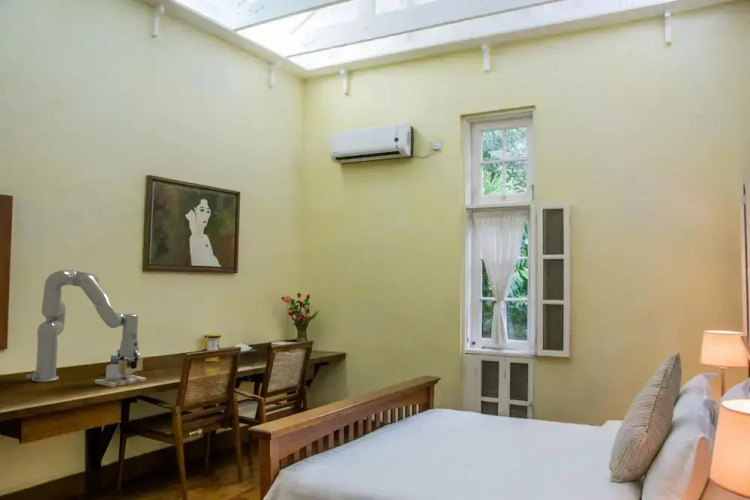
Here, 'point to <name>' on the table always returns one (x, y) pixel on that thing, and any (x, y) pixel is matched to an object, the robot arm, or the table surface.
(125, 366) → the tan piece
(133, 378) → the white mounting board
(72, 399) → the table surface
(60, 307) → the robot arm
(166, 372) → the table surface
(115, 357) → the light bulb box
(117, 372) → the steel hinge leaf
